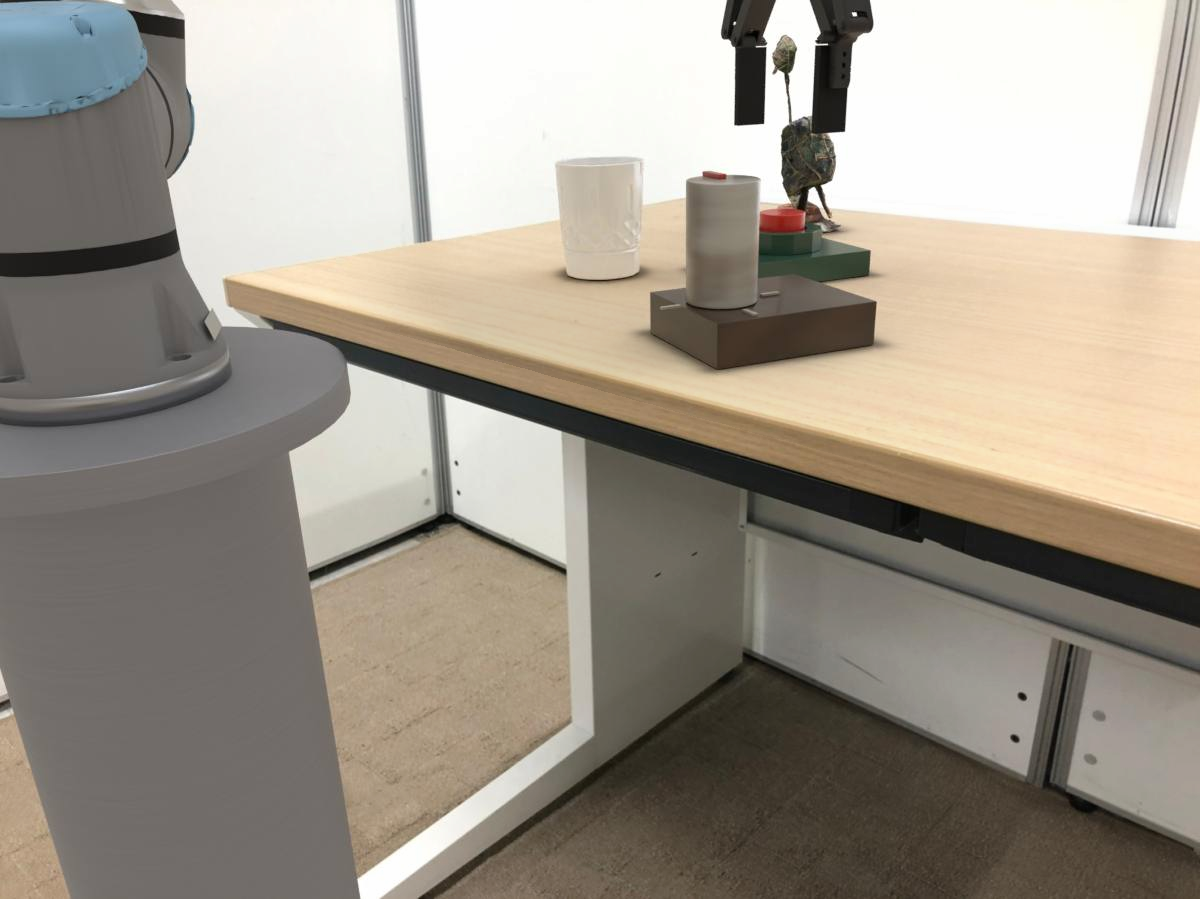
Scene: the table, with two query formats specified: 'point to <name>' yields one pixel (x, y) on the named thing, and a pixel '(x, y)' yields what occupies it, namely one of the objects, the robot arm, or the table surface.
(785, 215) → the button
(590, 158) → the white cup
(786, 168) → the stone bird figurine
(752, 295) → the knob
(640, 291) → the table surface
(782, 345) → the panel
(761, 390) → the table surface
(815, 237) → the switchbox
